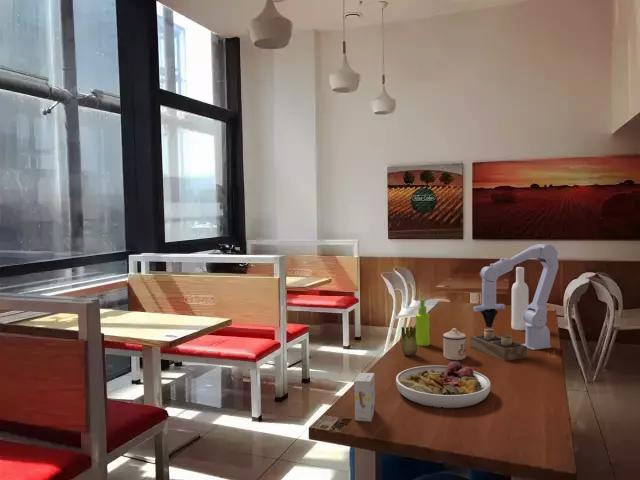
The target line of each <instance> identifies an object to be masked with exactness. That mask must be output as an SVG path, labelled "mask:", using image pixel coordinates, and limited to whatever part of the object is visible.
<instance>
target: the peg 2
mask: <svg viewBox="0 0 640 480" xmlns="http://www.w3.org/2000/svg"><path fill="white" fill-rule="evenodd" d="M500 337H501V344H503V345H512V341H513V339H512V338H513V335H512V334H509V333H508V334H507V333H505V334H504V333H503V334H501V335H500Z"/></svg>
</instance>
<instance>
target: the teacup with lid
mask: <svg viewBox="0 0 640 480" xmlns="http://www.w3.org/2000/svg"><path fill="white" fill-rule="evenodd" d="M442 339H443V341H442V342H443V343H442V344H443V358H445V359H447V360H452V361H459V360H460V361H461V360H464V359H466V355H467V353H466V350H467V348H466V344H467V343H466V341H467V340H466V339H467V335H466V334H465V333H464V332H460V331H459V330H458V329H457V328H455V327H454V328H452V329H451V330H450V331H448V332H444V333H443V335H442Z"/></svg>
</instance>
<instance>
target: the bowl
mask: <svg viewBox="0 0 640 480" xmlns="http://www.w3.org/2000/svg"><path fill="white" fill-rule="evenodd" d="M491 383H492V382H491V380H490V379H489V378H488V377H487V376H486V375H484V374H482V373H480V372H478V371H475V370H473V369H472V367H470V366H465V367H464V366H462V364H461V363H460V362H459V360H452V361H451V362H449V363H448V364H447V365H421V366H415V367H410V368H407V369H405V370H402V371H400V372H399V373H398V374H397V375H396V377H395V385H396V387H397V389H398V391H399V392H400V394H401V395H402V396H403V397H405V398H406V399H408V400H409V401H412V402H414V403H417V404H420V405H423V406H427V407H432V406H433V408H441V407H443V409H444V408H445V409H455V408H456V409H457V408H465V407H470V406H473V405H474V406H475V405H476V404H479V403H480V402H482V401H483V400H485V399H486V398H487V397H488V395H489V393H490V391H491V386H492V385H491Z"/></svg>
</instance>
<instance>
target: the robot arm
mask: <svg viewBox="0 0 640 480" xmlns="http://www.w3.org/2000/svg"><path fill="white" fill-rule="evenodd" d="M558 254H559V252H558V250H557V249H556V247H555V246H553V245H552V244H545V243H540V242H538V243H536V244H534V245H530V246H529V247H528V248H526V249H524V250H523V251H521V252H519V253H517V254H516V255H513V256H512V257H510V258H508V257H501V258H499V260H498V261H496V262H494V263H490V264H489V266H484V267H482V268H481V269H480V272H479V277H480V278H481V304H480V305H474V306H473V307H472V311H473V312H476V313H477V312H480V314H481V315H482V317H483V320H484V324H485V326H486V328H487V329H492V327H493V324H494V320H495V319H496V316H497V314H498V313H499V312H498V311H499V310H505V309H506V305H505V304H504V303H497V280H498V279H499V277H500V276H503V275H505V274H506V273H507V274H508V272H510V271H513V269H514V266H516V265H518V264H521V263H523V262H524V261H527V260H529V259H537V260H538V261H540V264H541V265H542V266H543V268H542V272H541V275H540V277H539V281H538V284H537V288H536V290H535V293H534V296H533V300H532V302H530V303H528V308H527V310H526V311H525V312H524V313H523V319H524V321H525V322H526V330H525V342H524V343H522V345H524V346H527V349H529V350H532V351H533V350H534V351H536V350H542V349H550V348H552V345H551V333H550V328H549V327H548V326H547V321H548V320H547V314H548V310H547V303H548V300H549V297H550V294H551V291H552V288H553V285H554V282H555V279H556V276H557V272H558V270H559V259H558Z"/></svg>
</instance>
